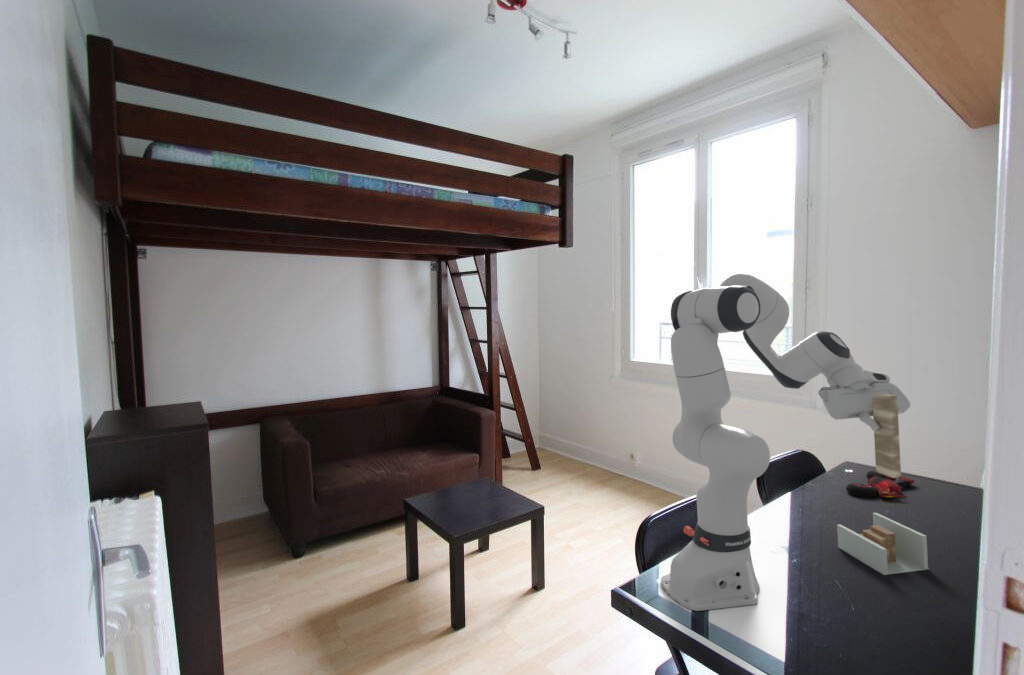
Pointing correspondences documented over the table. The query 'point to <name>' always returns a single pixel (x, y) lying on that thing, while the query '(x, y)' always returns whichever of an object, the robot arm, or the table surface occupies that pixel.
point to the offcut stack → (882, 540)
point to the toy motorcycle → (879, 486)
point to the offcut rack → (907, 548)
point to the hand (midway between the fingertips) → (884, 428)
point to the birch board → (887, 435)
